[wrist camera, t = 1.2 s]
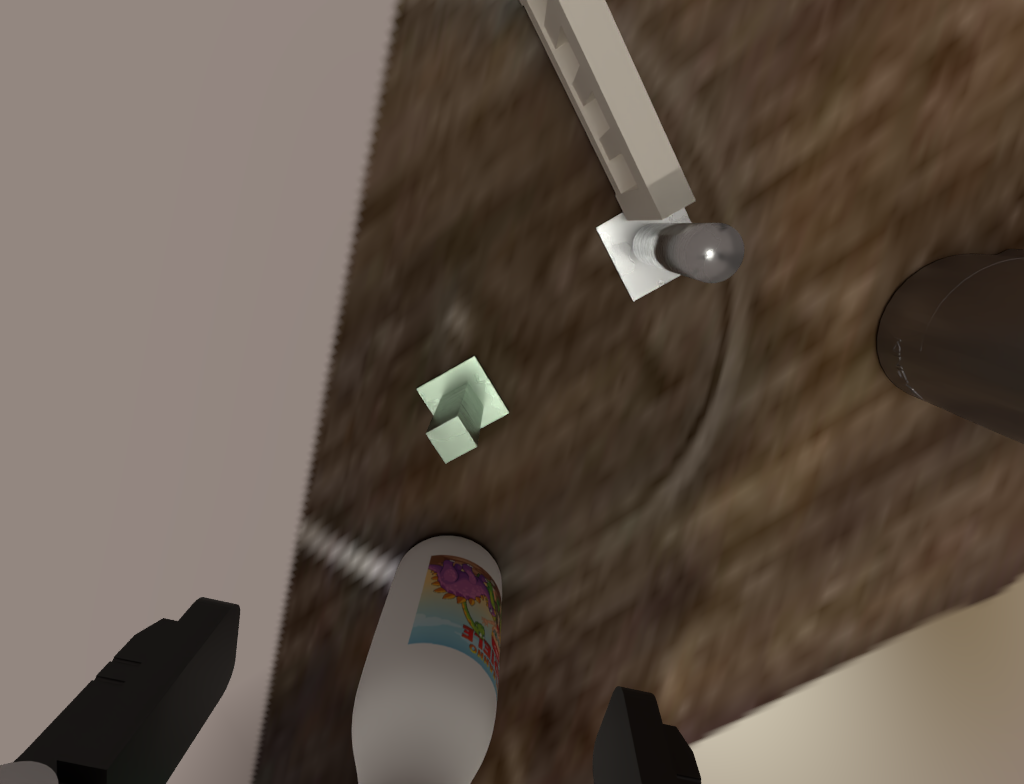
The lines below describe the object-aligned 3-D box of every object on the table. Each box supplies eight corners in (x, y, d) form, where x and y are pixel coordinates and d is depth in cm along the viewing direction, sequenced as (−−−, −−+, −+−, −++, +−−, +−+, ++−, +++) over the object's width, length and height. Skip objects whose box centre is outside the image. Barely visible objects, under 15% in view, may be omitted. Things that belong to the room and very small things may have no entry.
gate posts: (671, 183, 32) (747, 164, 22) (723, 295, 34) (816, 328, 23) (390, 347, 35) (337, 400, 25) (452, 442, 37) (427, 529, 26)
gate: (652, 206, 32) (695, 200, 24) (627, 220, 32) (662, 219, 24) (533, -44, 28) (540, -143, 21) (506, -25, 28) (503, -117, 21)
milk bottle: (432, 637, 42) (362, 987, 23) (376, 560, 40) (248, 872, 21) (521, 595, 41) (527, 927, 21) (468, 514, 39) (422, 799, 19)
